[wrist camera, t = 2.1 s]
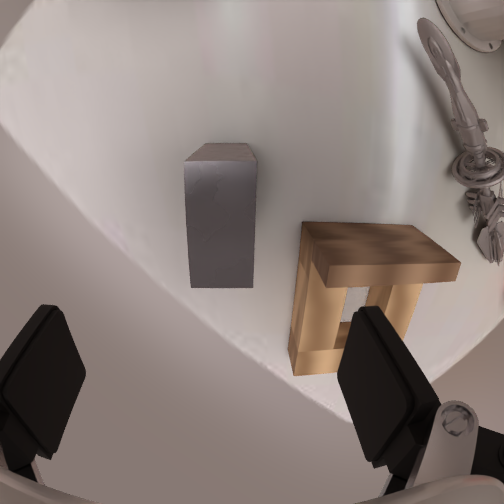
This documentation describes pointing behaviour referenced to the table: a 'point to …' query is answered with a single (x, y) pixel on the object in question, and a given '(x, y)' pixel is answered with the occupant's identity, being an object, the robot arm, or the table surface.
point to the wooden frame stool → (357, 283)
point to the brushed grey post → (221, 215)
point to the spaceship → (470, 144)
